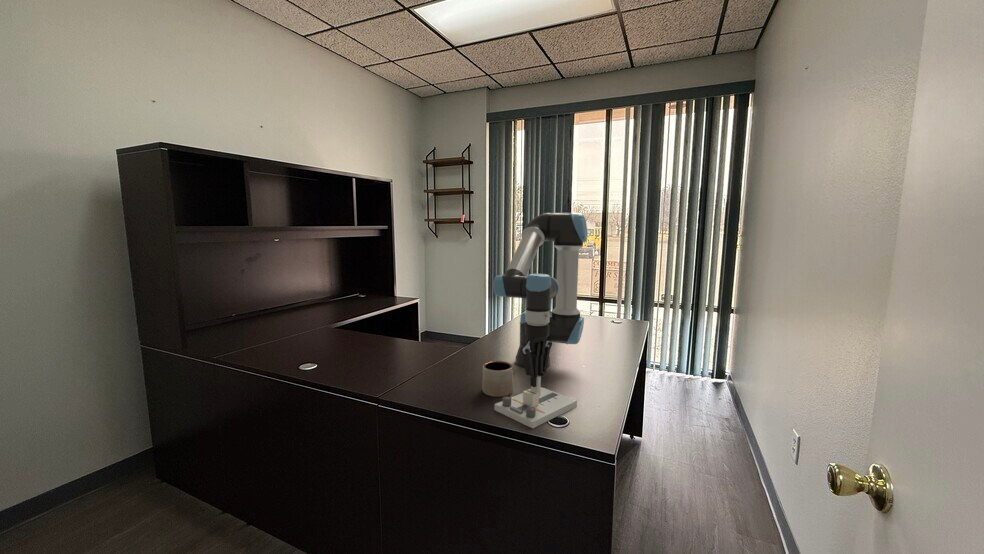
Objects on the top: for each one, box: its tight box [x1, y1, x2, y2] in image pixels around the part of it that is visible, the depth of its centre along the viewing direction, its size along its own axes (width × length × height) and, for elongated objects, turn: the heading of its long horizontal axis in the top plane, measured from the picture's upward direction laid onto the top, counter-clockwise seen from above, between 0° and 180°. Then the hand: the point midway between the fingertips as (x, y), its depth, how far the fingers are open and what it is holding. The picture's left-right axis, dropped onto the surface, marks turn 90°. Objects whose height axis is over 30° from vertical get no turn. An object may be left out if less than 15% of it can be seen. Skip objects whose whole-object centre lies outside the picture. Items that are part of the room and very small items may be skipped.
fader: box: [522, 388, 539, 407], centre depth 124 cm, size 4×3×4 cm
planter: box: [481, 360, 514, 398], centre depth 139 cm, size 11×11×10 cm
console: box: [494, 386, 578, 429], centre depth 126 cm, size 16×22×4 cm
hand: (535, 395), depth 125 cm, fingers closed
